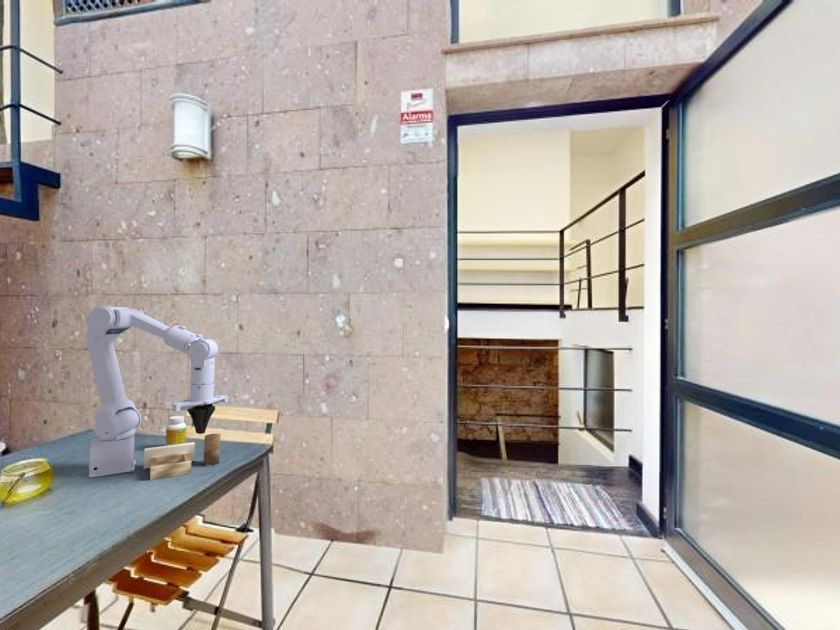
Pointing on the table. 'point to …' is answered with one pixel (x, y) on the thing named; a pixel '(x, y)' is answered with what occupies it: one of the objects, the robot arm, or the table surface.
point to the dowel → (212, 449)
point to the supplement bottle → (176, 431)
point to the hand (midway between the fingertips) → (200, 432)
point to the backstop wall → (168, 451)
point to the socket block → (170, 465)
